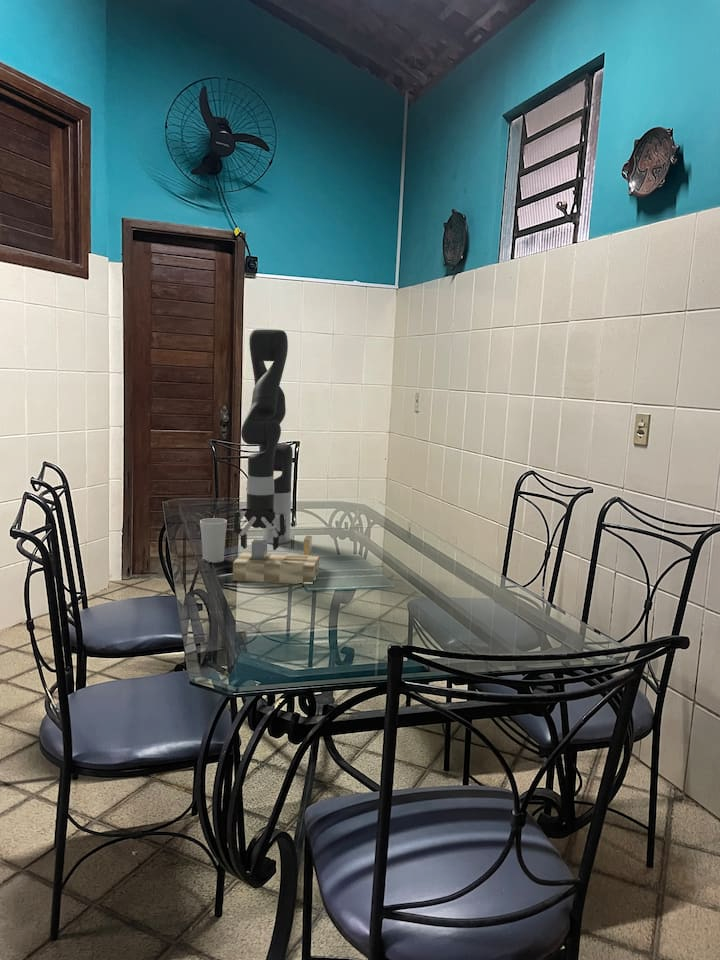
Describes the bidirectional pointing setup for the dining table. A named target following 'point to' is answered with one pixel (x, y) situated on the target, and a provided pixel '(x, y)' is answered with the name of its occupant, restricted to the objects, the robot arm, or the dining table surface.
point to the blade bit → (307, 545)
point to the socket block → (276, 568)
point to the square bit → (259, 550)
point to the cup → (213, 539)
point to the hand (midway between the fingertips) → (259, 548)
